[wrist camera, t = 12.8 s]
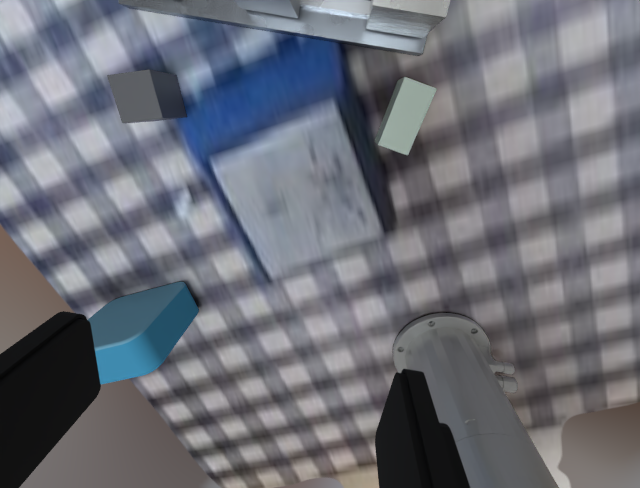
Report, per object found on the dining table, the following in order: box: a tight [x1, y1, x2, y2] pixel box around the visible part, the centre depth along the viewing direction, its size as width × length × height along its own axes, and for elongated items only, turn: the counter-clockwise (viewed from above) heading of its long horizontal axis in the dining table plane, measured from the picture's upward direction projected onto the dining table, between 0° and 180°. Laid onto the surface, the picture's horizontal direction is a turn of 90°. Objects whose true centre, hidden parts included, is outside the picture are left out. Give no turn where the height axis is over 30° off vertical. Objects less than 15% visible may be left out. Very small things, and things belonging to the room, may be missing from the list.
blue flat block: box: [87, 282, 199, 384], centre depth 38 cm, size 12×4×12 cm, turn 108°
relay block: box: [107, 70, 187, 123], centre depth 31 cm, size 4×4×5 cm
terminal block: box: [375, 77, 437, 155], centre depth 31 cm, size 3×6×4 cm, turn 162°
